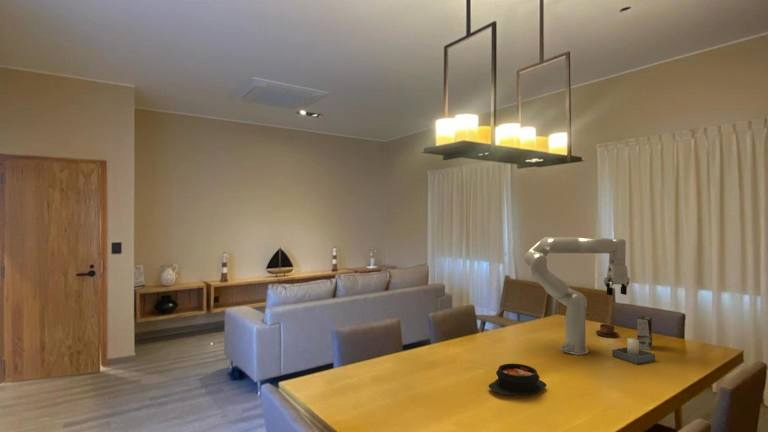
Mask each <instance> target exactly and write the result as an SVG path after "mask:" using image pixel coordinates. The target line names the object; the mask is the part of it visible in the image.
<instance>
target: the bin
mask: <svg viewBox="0 0 768 432" xmlns="http://www.w3.org/2000/svg"><path fill="white" fill-rule="evenodd" d="M611 353H612V354H611V357H612V358H615V359H618V360H621V361H625V362H627V363H630V364H633V365H636V366H639V365H642V364H647V363H653V362H656V353H653V352H649V351H648V350H644V349H639V357H635V356H632V355H629V354H627V346H626V347H620V348H615V349H612V350H611Z"/></svg>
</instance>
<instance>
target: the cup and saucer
mask: <svg viewBox="0 0 768 432" xmlns="http://www.w3.org/2000/svg"><path fill="white" fill-rule="evenodd" d="M595 333H596V334H597V335H598V336H601V337H606V338H616V337H618V336H619V333H618V332H616V331H615V326H614V325H612V324H608V323H602V324H601V323H600V324H599V329H597V330H595Z"/></svg>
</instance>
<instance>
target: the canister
mask: <svg viewBox="0 0 768 432" xmlns="http://www.w3.org/2000/svg"><path fill="white" fill-rule="evenodd" d="M626 347H627V354H629V355H632V356H635V357H639V340H638V339H637V338H634V337H628V338H626Z"/></svg>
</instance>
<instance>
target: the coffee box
mask: <svg viewBox="0 0 768 432" xmlns="http://www.w3.org/2000/svg"><path fill="white" fill-rule="evenodd" d="M636 321H637V323H636V326H637V327H636V329H637V330H636V332H637V333H636V334H637V335H636V337H637V338H636V339H638V340H639V349H640V350H643V351H652V348H653V318H652V317H651V316H644V315H641V316H640V315H638V317H637V319H636Z"/></svg>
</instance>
